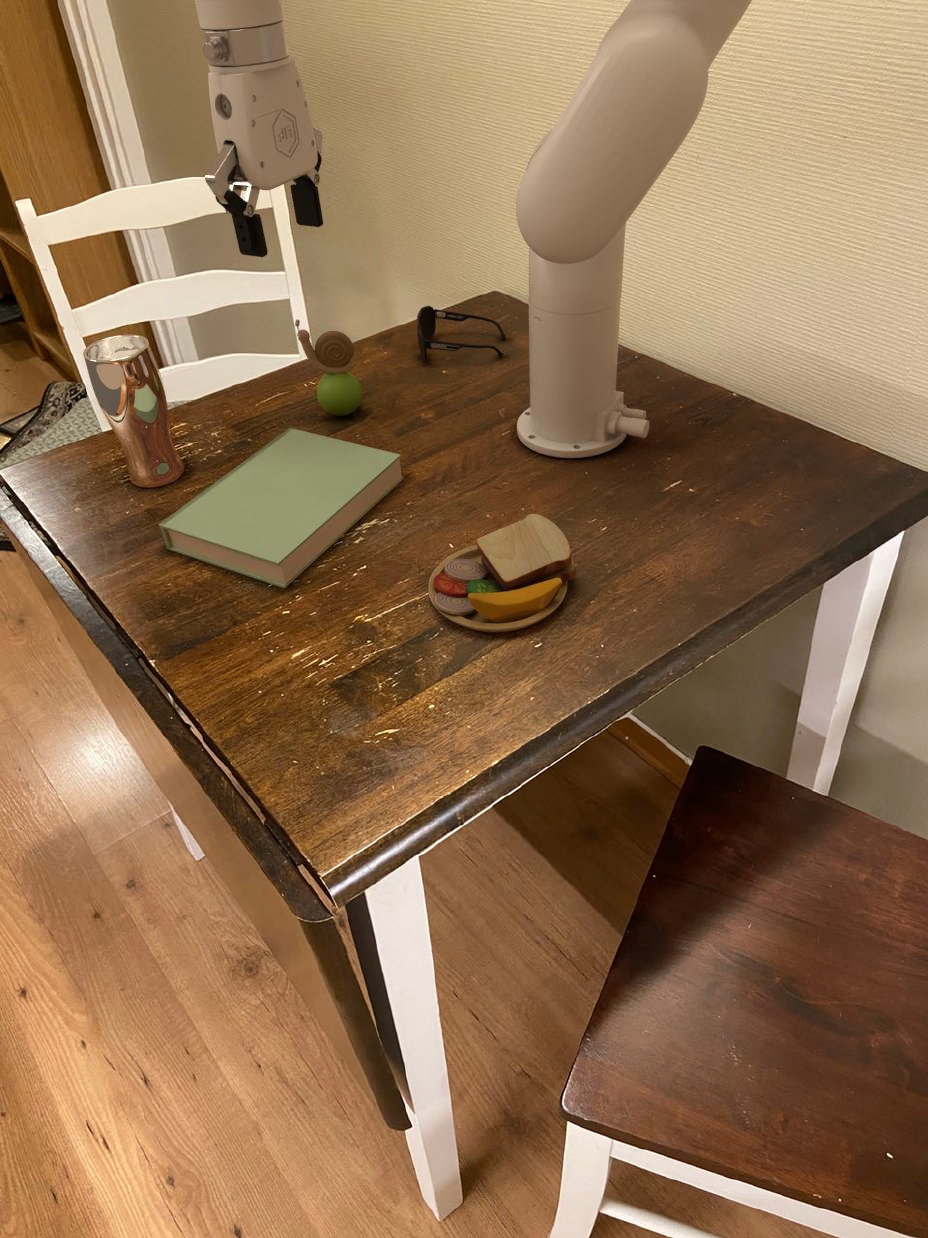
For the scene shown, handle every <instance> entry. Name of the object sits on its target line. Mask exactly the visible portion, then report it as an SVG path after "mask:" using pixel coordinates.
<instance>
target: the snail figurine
mask: <svg viewBox="0 0 928 1238" xmlns="http://www.w3.org/2000/svg"><path fill="white" fill-rule="evenodd" d="M300 324H301V320H300V319H296V320H295V323H294V326H295V327H296V328H297V331H298V332H297V333H296V336H297V339H298V341H299V342H300V344H301V347H302V350H303V352H304V354H305V357H306V358H307V360H308V362H309V363H310V365H311V366H312V367H313V368H314V369H315V370H317V371H319V372H321V373H325V374H324V375H323V376H321V378H320V379H319V381H318V383H317V386H316V398H317V401H318V403H319V405H320V407H321V408H322V409H323V410H324V411H325V412H327V413H328V414H330V415H332V416H337V417H345V416H348V415H350V414H352V413H353V412H355V411H356V410H357V409H358V408H359V406H360V404H361V402H362V397H363V389H362V386H361V383H360V381H359V380H358V378H357V377H356V376H355V375H354V374H353V373H351V372H350V371H351V370H352V369H353V368H355V366H356V364H357V361H356V360H352V359H353V357H354V354H355V347H354V344H353V341H352V340H351V338H350V337H349V336H348V335H346V333H344V332H341V331H338V330H329V331H325V332H323V333H322V334H321V335H320V336H319V337H318V338H317V340H316V341H315V345H314V347H313V344H312V343H311V339H310V338H311V334H310V331H308V330H306V329H304V328H303V329H300V327H299V326H300Z"/></svg>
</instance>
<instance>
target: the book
mask: <svg viewBox="0 0 928 1238" xmlns="http://www.w3.org/2000/svg"><path fill="white" fill-rule="evenodd" d="M401 458H402V454H401V453H396V452H391V451H387V450H383V449H380V448H375V447H371V446H366V445H362V444H359V443H354V442H350V441H346V440H343V439H342V440H341V439H339V438H338V439H337V438H334V437H329V436H325V435H321V434H317V433H313V432H308V431H304V430H300V429H296V428H293V427H288V429H286V430H285V431H284V432H282V433H281V434H279V435H278V436H277V437H275V438H274V439H272V441H270V442H269V443H267V444H266V445H264V446H263V447H262V448H261V449H259V450H258V451H256V452H254V454H252V455H251V456H249V457H248V458H247V459H245V460H244V461H242V463H240V464H239V465H237V466H236V467H235V468H233V469H232V470H231V471H229V472H228V473H227V474H225V475H224V476H222V477H221V478H220V479H218V480H217V481H216V482H214V483H213V484H211V485H210V486H209V487H207V488H206V489H205V490H203V491H202V492H201V493H199V494H197V496H194V498H193V499H191V500H190V501H188V502H187V503H185V504H184V505H183V506H181V507H180V508H179V509H178V510H176V511H175V512H174V513H172V514H171V515H169V516H168V517H166V519H164V520H162V521H161V522H160V523H158V527H159V529H160V531H161V535H162V538H163V541H164V544H165V547H166V549H167V550H169V551H171V552H175V553H177V554H181V555H183V556H186V557H190V558H193V559H195V560H198V561H202V562H204V563H207V564H210V565H213V566H217V567H219V568H222V569H225V570H228V571H231V572H234V573H236V574H240V575H243V576H246V577H249V578H252V579H254V580H258V581H261V582H263V583H267V584H269V585H272V586H276V587H278V588H281V589H286V588H287V587H288V586H289V585H290V584H291V583H293V582H294V580H296V579H297V578H298V577H299V576H300V575H301V574H303V573H304V571H305V570H306V569H307V568H309V567H310V566H311V565H312V564H313V563H314V562H315V561H317V559H318V558H319V557H321V556H322V555H323V554H324V553H325V552H326V551H327V550H328V549H329V548H331V546H332V545H334V544H335V543H336V542H337V541H338V540H339V539H340V538H341V537H342V536H344V535H345V533H346V532H348V531H349V530H350V529H351V528H352V527H353V526H354V525H356V523H358V522H359V521H360V520H361V519H362V518H363V517H364V516H365V515H366V514H367V513H368V512H370V511H371V509H373V508H374V507H375V506H376V505H377V504H379V502H380V501H381V500H383V498H384V497H386V496H387V495H388V494H390V492H391V491H392V490H394V488H395V487H397V486H398V485H399V484H400V483H401V482H402V481H403V480H404V478H405V477H404V476H403V474H402V467H401Z"/></svg>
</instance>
